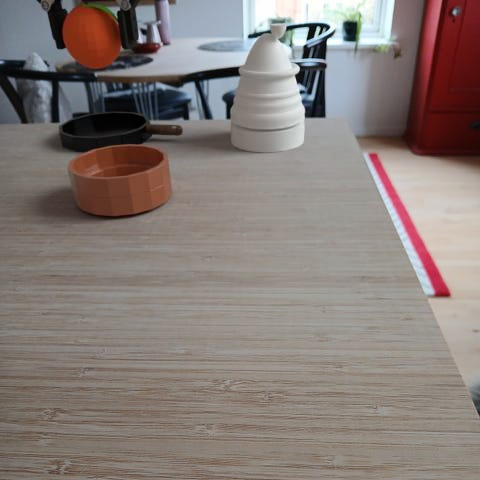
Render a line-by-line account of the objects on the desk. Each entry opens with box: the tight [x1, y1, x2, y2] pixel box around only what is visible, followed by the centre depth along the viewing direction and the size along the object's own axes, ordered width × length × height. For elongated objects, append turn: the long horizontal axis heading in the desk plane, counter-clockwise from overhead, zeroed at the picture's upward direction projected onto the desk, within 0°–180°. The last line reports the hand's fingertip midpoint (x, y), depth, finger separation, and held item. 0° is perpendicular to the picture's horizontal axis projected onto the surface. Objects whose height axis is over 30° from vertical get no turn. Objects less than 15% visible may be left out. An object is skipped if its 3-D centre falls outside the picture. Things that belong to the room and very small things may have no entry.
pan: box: [58, 111, 184, 153], centre depth 94 cm, size 23×16×3 cm
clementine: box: [62, 1, 122, 70], centre depth 62 cm, size 8×7×7 cm
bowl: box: [66, 144, 173, 217], centre depth 71 cm, size 13×13×6 cm
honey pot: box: [229, 22, 306, 153], centre depth 85 cm, size 13×13×18 cm
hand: (97, 46), depth 63 cm, fingers closed on clementine, 8 cm apart
